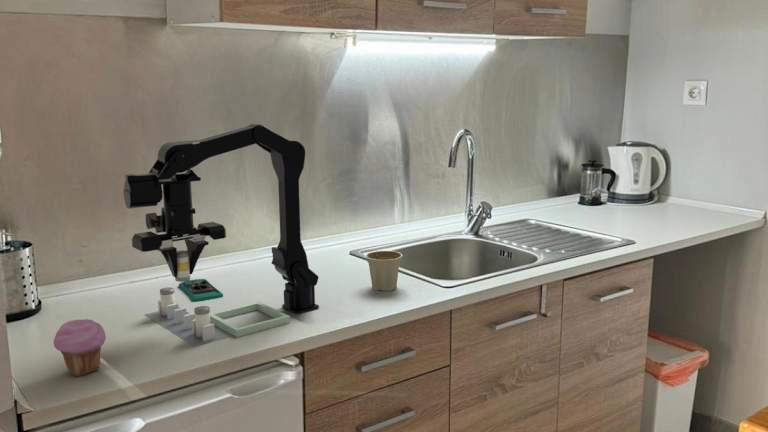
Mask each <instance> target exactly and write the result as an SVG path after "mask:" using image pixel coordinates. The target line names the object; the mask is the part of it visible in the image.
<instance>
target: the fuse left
mask: <svg viewBox="0 0 768 432" xmlns="http://www.w3.org/2000/svg"><path fill="white" fill-rule="evenodd" d="M159 294H160V300H161V310H162V312H161V314H162V317H167V305H171V304H175V303H176V300H175V299H176V298H175V288H174V287H170V286H169V287H168V286H167V287H162V288H160V289H159Z"/></svg>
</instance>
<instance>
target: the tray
mask: <svg viewBox="0 0 768 432" xmlns="http://www.w3.org/2000/svg"><path fill="white" fill-rule="evenodd" d="M253 311H254V312H255V311H260V312H262V313H264V314H266V315H267V316H270V317H272V319H268V320H264V321H259V322H256V323H253V324H248V325H245V326H241V327H237V326H236V325H234V324H232V323H231V322H228V321H227V320H225V319H227V318H231V317H234V316H239V315H243V314H245V313H250V312H253ZM212 323H213V324H214V326H217V327H219V328H221V329H223V330H224V331H226V332H227V333H229V334H231V335H232V336H234V337H236V338H238V337H243V336H246V335H250V334H253V333H257V332H261V331H264V330H265V331H266V330H269V329H272V328H275V327H276V328H277V327H281V326H282V325H286V324H290V323H291V316H290V315H288V314H286V313H284V312H281V311H280V310H278V309H276V308H273V307H271V306H269V305H267V304H265V303H262V302H260V301H256V302H253V303H247V304H245V305H240V306H235V307H232V308H228V309H224V310H219V311H215V312H210V324H212Z"/></svg>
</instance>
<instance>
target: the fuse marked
mask: <svg viewBox="0 0 768 432" xmlns="http://www.w3.org/2000/svg"><path fill="white" fill-rule="evenodd" d="M174 280H175V282H178V283H179V282H180V283H181V282H184V281H189V280H191V274H190V263H189V251H187V250H184V249H183V250H177V277H174Z"/></svg>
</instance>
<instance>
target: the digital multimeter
mask: <svg viewBox="0 0 768 432" xmlns="http://www.w3.org/2000/svg"><path fill="white" fill-rule="evenodd" d="M178 288H179V289H181V290H182V291H184V293H186V295H187V296H188V297H189V298H190V299H191V300H192V302H195V303H196V302H202V301H209V300H214V299H218V298H219V299H220V298H223V297H224V293H223V292H221V291H220V290H219V289H217V288H216V287H215V286H213V285H212V283H210V282H209V281H208V280H207V279H206V278H195V279H190V280H189V281H184V282H180V283H178Z"/></svg>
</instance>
